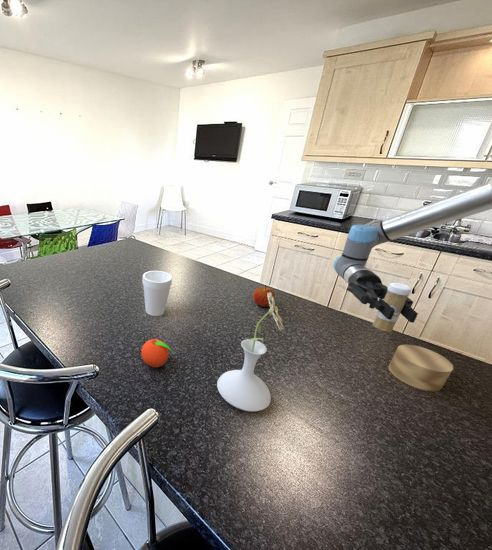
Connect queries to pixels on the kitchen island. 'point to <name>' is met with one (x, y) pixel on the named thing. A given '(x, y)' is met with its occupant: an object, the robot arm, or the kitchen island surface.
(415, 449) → the kitchen island surface
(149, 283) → the foam cup
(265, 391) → the flower in vase
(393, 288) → the sprinkles bottle
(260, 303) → the fruit
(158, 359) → the clementine
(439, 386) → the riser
